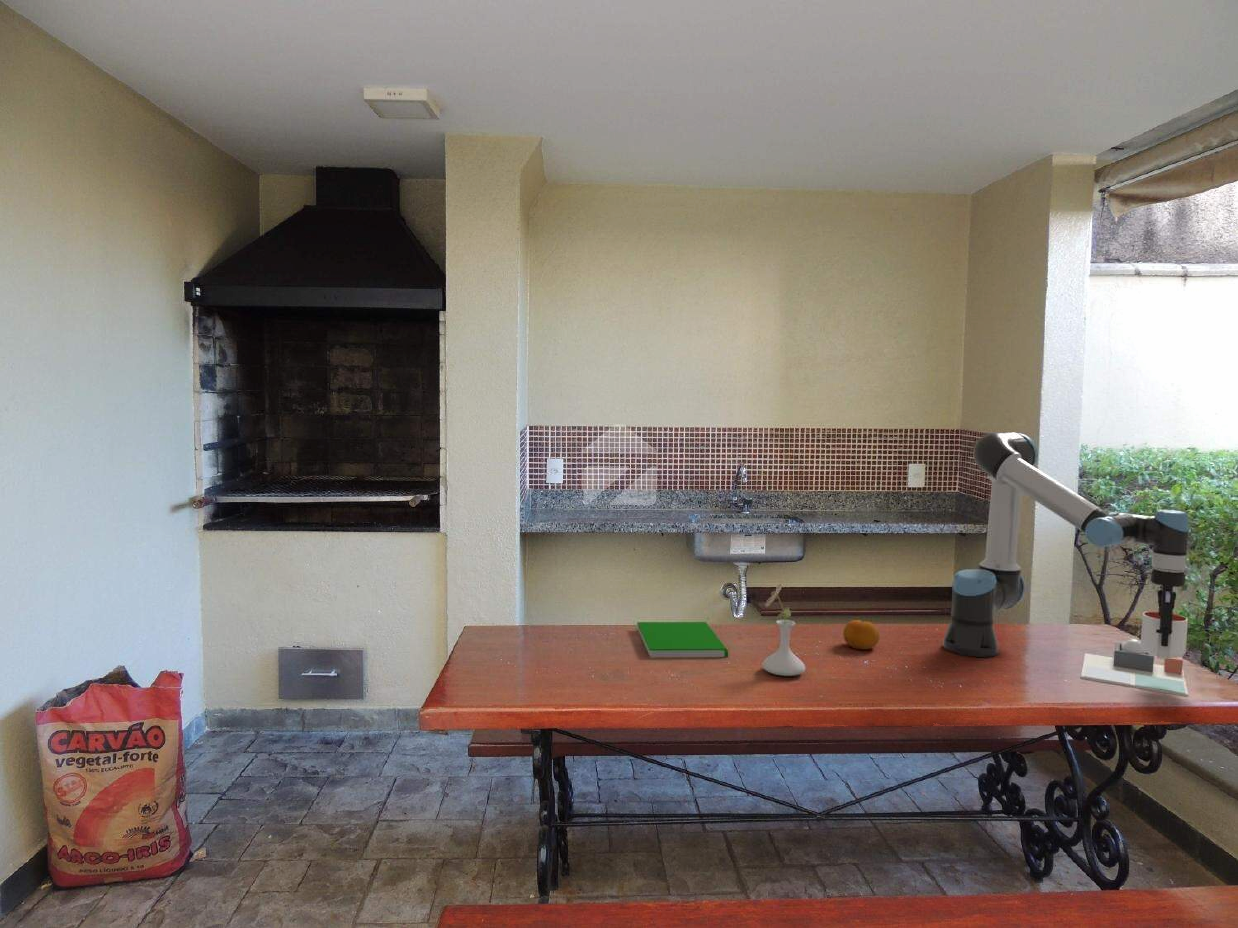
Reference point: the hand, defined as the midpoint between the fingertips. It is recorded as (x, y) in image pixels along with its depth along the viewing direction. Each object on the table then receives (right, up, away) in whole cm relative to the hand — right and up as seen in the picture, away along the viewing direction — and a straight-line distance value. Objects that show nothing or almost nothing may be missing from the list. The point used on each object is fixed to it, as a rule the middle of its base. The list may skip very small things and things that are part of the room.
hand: (1162, 652), depth 223 cm
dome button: (+2, -6, +17) cm, 18 cm away
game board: (-2, -8, +10) cm, 13 cm away
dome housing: (+2, -7, +17) cm, 18 cm away
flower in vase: (-100, -6, +3) cm, 100 cm away
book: (-125, -4, +29) cm, 129 cm away
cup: (0, 0, 0) cm, 0 cm away
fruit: (-71, -5, +29) cm, 77 cm away
